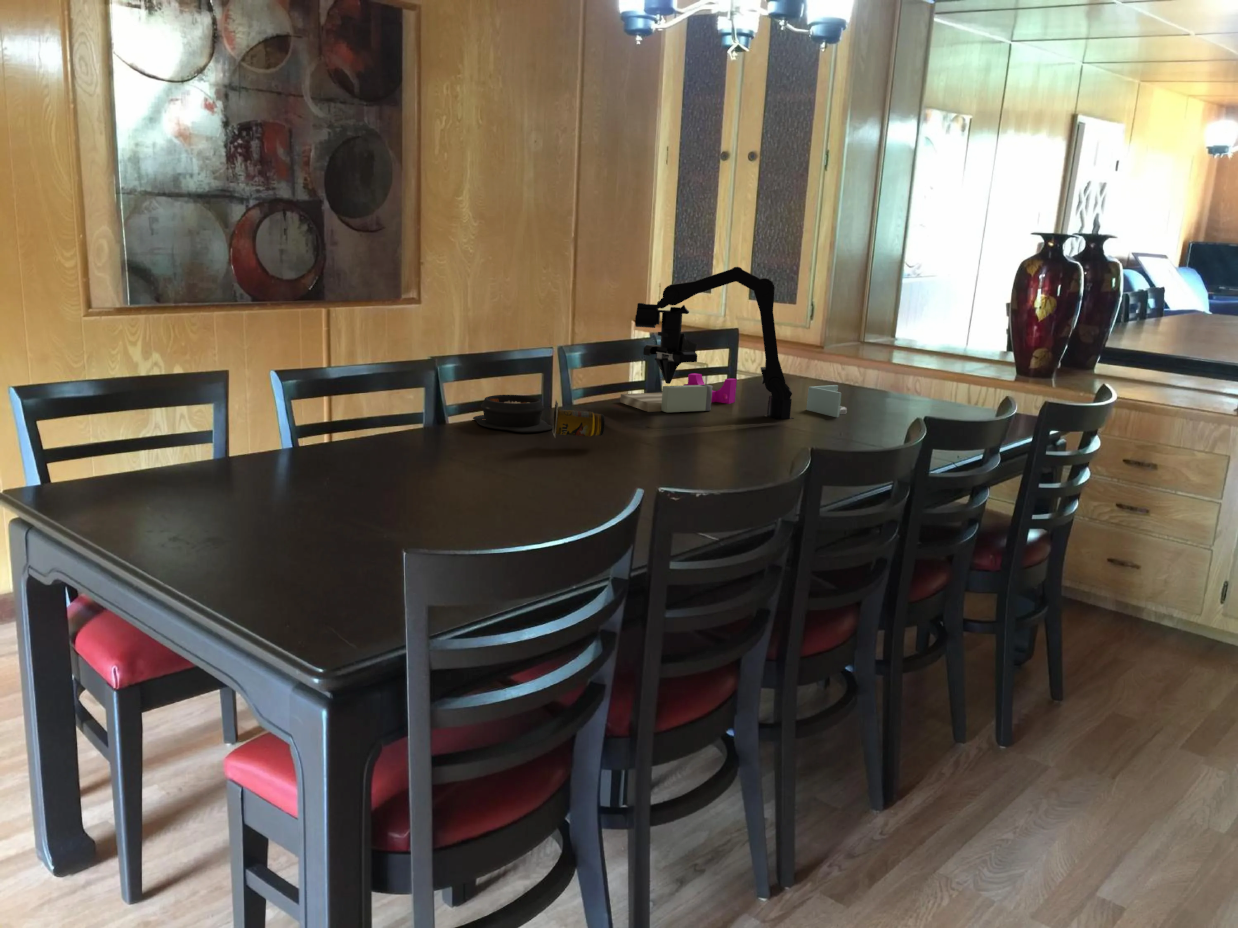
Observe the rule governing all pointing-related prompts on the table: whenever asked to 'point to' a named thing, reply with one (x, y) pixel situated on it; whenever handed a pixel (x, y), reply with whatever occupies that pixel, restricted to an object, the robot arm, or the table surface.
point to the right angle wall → (825, 400)
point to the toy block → (723, 394)
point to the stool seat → (643, 401)
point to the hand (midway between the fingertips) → (668, 383)
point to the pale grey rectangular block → (686, 398)
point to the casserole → (513, 413)
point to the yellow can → (577, 423)
